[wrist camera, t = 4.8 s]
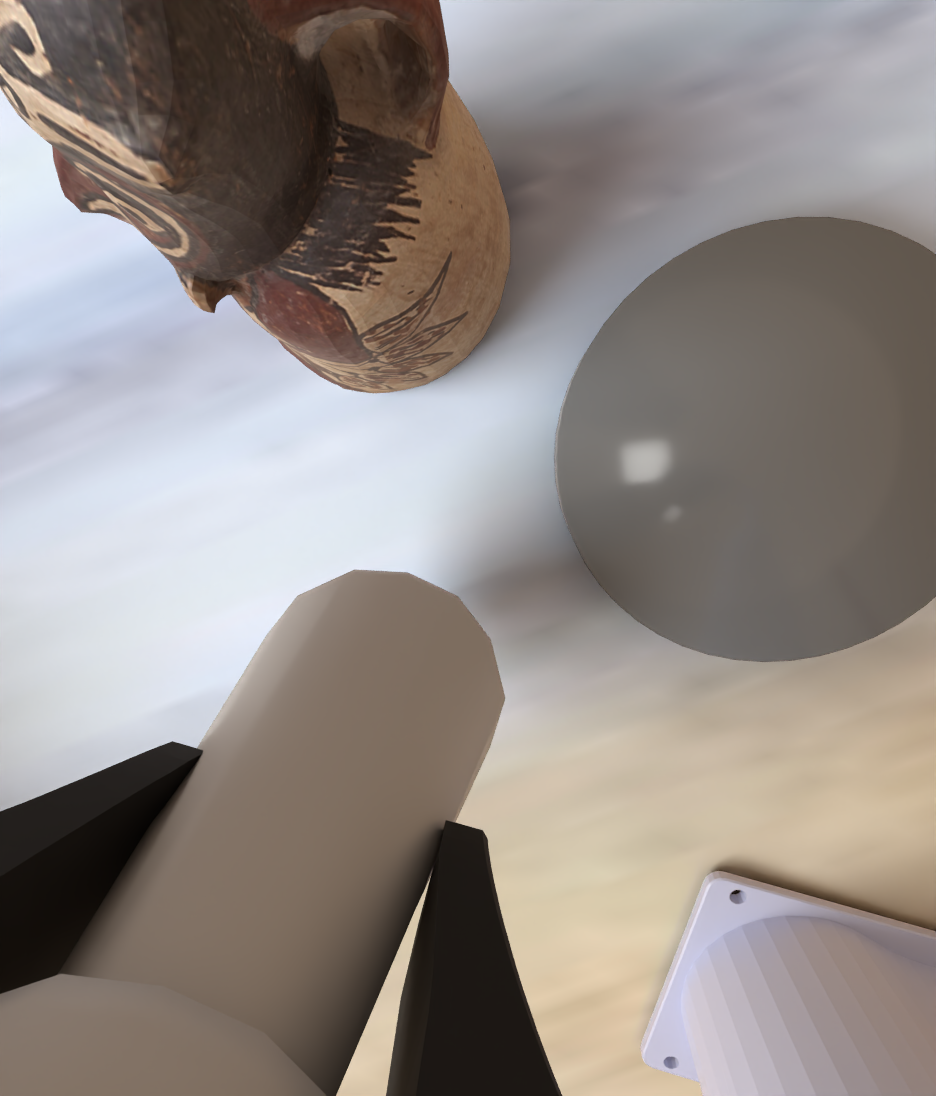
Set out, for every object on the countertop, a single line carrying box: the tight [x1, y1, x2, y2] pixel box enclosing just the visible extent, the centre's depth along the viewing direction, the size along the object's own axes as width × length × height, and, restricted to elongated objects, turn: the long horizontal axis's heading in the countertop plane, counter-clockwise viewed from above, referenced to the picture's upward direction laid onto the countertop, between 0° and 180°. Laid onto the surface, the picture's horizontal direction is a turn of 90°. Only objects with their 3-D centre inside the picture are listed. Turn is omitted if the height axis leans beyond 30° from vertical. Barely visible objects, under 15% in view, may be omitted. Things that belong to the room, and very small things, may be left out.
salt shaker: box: [0, 570, 505, 1096], centre depth 9 cm, size 6×6×13 cm
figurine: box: [0, 0, 510, 393], centre depth 10 cm, size 7×7×12 cm
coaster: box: [554, 217, 936, 662], centre depth 15 cm, size 11×11×2 cm
